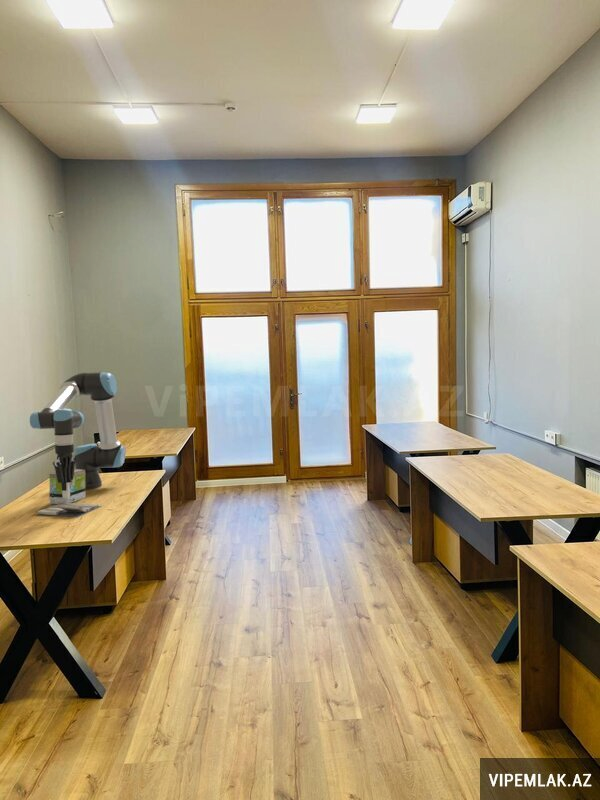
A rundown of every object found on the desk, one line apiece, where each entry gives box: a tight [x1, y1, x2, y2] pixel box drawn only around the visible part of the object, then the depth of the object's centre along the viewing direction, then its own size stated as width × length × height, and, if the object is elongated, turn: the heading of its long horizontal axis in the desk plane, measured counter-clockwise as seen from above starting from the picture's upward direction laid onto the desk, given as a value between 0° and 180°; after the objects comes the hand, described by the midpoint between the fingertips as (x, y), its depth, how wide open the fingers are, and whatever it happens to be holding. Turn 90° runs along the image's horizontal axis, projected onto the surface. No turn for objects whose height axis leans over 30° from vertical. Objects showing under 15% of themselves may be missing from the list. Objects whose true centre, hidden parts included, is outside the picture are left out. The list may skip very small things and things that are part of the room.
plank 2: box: [57, 505, 87, 512], centre depth 238 cm, size 8×10×1 cm
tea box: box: [49, 468, 86, 505], centre depth 261 cm, size 15×10×15 cm, turn 168°
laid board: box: [50, 502, 99, 513], centre depth 247 cm, size 8×20×1 cm, turn 77°
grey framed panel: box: [35, 505, 103, 519], centre depth 244 cm, size 19×22×1 cm
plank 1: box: [36, 506, 66, 515], centre depth 240 cm, size 8×10×1 cm
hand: (66, 497), depth 234 cm, fingers closed
